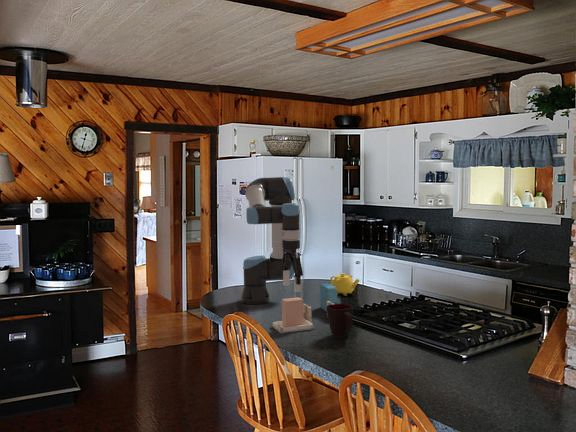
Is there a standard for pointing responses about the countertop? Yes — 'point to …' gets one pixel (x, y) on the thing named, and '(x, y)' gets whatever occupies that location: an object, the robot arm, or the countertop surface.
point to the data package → (327, 295)
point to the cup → (340, 319)
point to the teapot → (344, 283)
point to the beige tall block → (292, 312)
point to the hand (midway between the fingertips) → (291, 288)
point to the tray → (282, 329)
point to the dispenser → (310, 311)
